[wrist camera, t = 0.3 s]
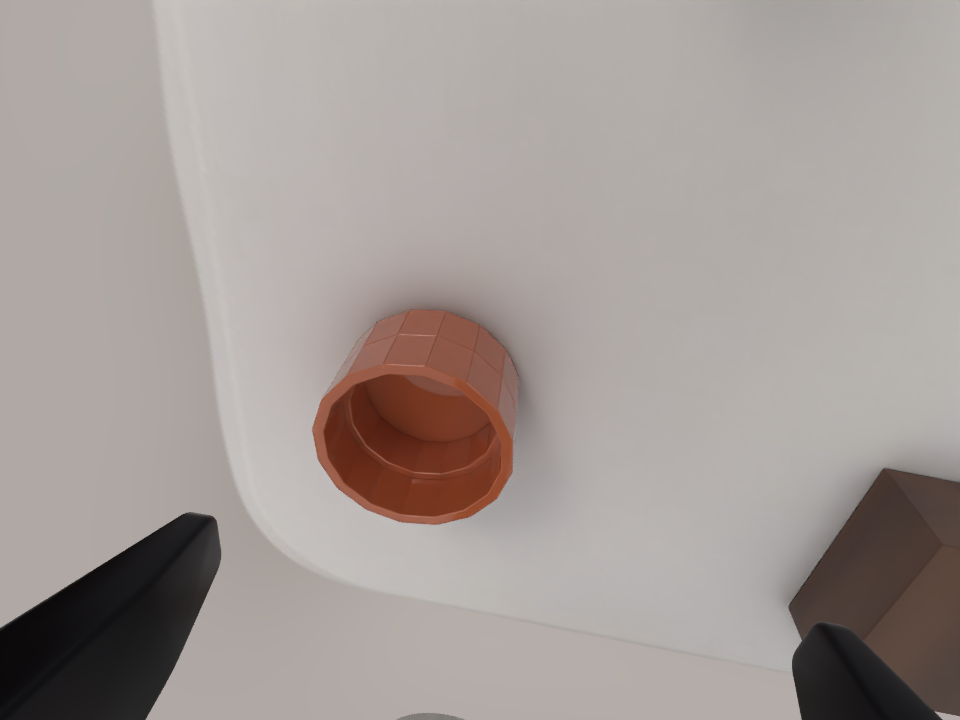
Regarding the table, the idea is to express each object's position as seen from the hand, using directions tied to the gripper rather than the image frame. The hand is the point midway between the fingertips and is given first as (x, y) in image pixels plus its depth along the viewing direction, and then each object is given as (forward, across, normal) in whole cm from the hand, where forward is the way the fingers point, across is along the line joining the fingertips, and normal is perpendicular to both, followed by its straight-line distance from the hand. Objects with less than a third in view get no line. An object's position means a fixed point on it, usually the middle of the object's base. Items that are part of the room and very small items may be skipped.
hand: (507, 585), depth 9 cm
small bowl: (+14, +3, +5) cm, 15 cm away
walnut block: (+14, -20, +11) cm, 26 cm away
